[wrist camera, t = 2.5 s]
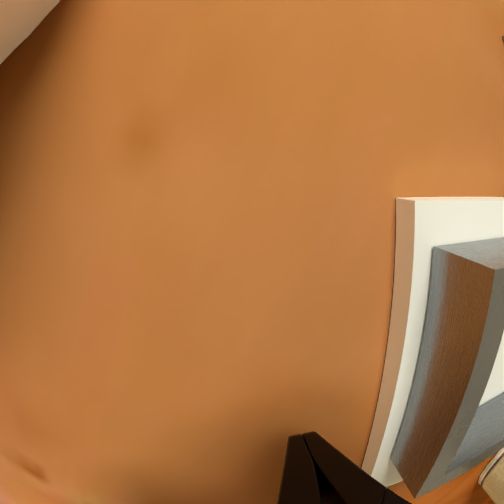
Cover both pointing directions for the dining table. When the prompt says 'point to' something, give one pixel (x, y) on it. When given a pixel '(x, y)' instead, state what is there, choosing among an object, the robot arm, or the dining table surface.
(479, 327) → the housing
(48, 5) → the honey pot
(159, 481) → the dining table surface
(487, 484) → the coffee can
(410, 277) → the base board
